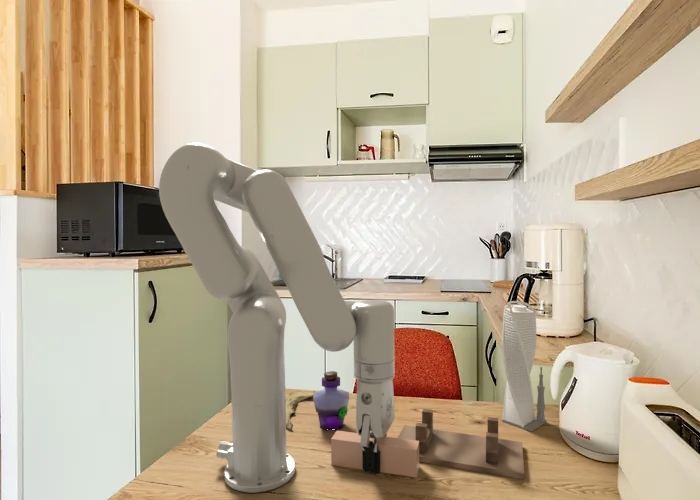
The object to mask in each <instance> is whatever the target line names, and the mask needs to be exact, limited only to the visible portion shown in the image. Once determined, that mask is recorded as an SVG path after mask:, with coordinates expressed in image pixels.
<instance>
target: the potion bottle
mask: <svg viewBox="0 0 700 500" xmlns="http://www.w3.org/2000/svg"><path fill="white" fill-rule="evenodd" d="M323 375H324V376H323V377H322V378H321V386H322V387H323V389H321V390H318V391H315V393H314V395H313V397H312V400H313V405H314V407H315V413H317V417H318V421H319V428H320V429H322V430H324V431H326V432H328V430H332V429H335V430H332V431H335V432H336V431H340V429H342V428H344V422H345V421H344V420H345V418H346V416H347V415H348V406H349V401H350V393H349V392H350V391H347V390H344V389H340V388H338V387H340V386H341V377H340V376H338V372H337V371H335V370H334V371H327V372H324V373H323ZM327 429H328V430H327ZM332 431H331V432H332Z"/></svg>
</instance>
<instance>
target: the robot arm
mask: <svg viewBox="0 0 700 500" xmlns="http://www.w3.org/2000/svg"><path fill="white" fill-rule="evenodd" d="M158 191H159V192H158V193H159V200H160V204H161V208H162V211H163V213H164V216H165V218H166V219H167V221H168V223H169V225H170V228H171V229H172V231H173V232H174V234H175V236H176V238H177V240H178V241H179V243H180V245H181V246H182V249H183V251H184V252H185V254H186V256H187V258H188V259H189V261H190V264H191V265H192V267H193V268H194V270H195V272H196V273H197V275H198V277H199V279H200V282H201V283H202V285H203V287H204V289H205V290H206V291H207V293H209V295H211V296H212V297H214V298H215V299H218V300H222V301H225V302H226V304H228V306H229V308H230V310H231V312H232V315H231V317H230V320H229V323H228V327H227V333H226V334H227V335H226V337H227V348H228V358H229V367H230V392H231V393H230V394H231V425H232V427H231V429H232V430H231V431H232V433H231V435H232V442H231V441H225V440H221V441H220V442H219V444H218V450H217V451H216V455H215V456H216V458H218V459H221V460H222V459H225V460H226V461H227V465H226V467H225V468H224V474H223V476H224V481H225V483H226V485H228V487H230V489H233V490H236V491H239V492H243V493H251V494H252V493H261V492H267V491H271V490H274V489H276V488H279V487H281V486H283V485H284V484H286V483H288V481H290V480H291V479H292V478H293V476H294V474H295V472H296V462H295V459H294V458H293V456H291V455H290V454H289V453H287V452H288V451H287V429H286V401H287V399H286V396H287V395H286V372H285V371H286V370H285V369H286V368H285V367H286V365H285V364H286V363H285V361H286V360H285V329H286V322H287V321H286V320H287V311H286V307H285V305H284V302H283V301H282V299H281V298H280V295H279V294H278V292H277V290H276V288H275V286H274V285H273V283H272V281H271V280H270V277H269V276H268V274H267V272H266V271H265V269H264V267H263V265H262V264H261V261H259V259H258V257H257V256H256V255H255V254H254V252H252V251H251V250H250V249H248V248H247V247H245V246H242V245H240V244H239V243H238V241H237V239H236V237H235V235H234V234H233V232H232V231H231V228H230V227H229V225H228V222H227V221H226V219H225V217H224V216H223V215H222V212H221V211H220V210H219V208H218V206H217V204H216V202H215V201H217V202H219V203H222V204H224V205H227V206H230V207H233V208H235V209H238V210H241V211H244V212H246V213H248V215H249V216H250V218H251V220H252V222H253V224H254V226H255V227H256V229H257V231H258V233H259V235H260V237H261V239H262V241H263V242H264V244H265V246H266V249H267V251H268V253H269V254H270V257H271V258H272V260H273V262H274V264H275V266H276V269H277V271H278V274H279V276H280V277H281V279H282V281H283V282H284V284H285V286H286V287H287V289H288V292H289V294H290V296H291V298H292V300H293V302H294V304H295V306H296V308H297V310H298V313H299V314H300V316H301V319H302V320H303V322H304V324H305V327H306V328H307V329H308V332H309V333H310V335H311V337H312V339H313V341H314V342H315V343H316V344H317V346H318V347H320V348H321V349H323V350H324V351H325V350H326V351H328V352H332V353H333V352H335V353H336V352H341V351H343V350H345V349H347V348H348V347H350V345H351V344H352V343H353V378H354V379H355V380H357V387H356V402H355V405H356V406H355V410H356V411H355V427H356V433H358V435H361V440H360V446H362V452H363V469H362V470H363V471H364V472H367V473H374V474H380V473H381V472H380V451H378V445H379V439H382V438H383V437H388V436H387V435H388V434H387V433H388V431H389V430H390V428H391V426H392V425H393V423H394V421H395V412H396V411H395V397H394V395H395V394H394V393H395V392H394V381H393V380H394V379H395V368H396V367H395V365H396V364H395V361H396V360H395V309H394V306H393V304H391V302H388V301H386V300H381V299H380V300H379V299H377V300H376V299H372V300H371V299H370V300H368V299H367V300H362V301H352V300H344V297H343V295H342V294H341V292H340V289H339V288H338V285H337V284H336V283H337V282H335V279H334V278H333V276H332V274H331V271H330V269H329V267H328V264H327V262H326V260H325V256H324V253H323V251H322V248H321V246H320V243H319V242H318V239H317V237H316V235H315V234H314V231H313V230H312V228H311V226H310V224H309V222H308V221H307V218H306V216H305V215H304V213H303V211H302V210H303V209H301V207H300V205H299V202H298V201H297V199H296V197H295V195H294V193H293V191H292V189H291V187H290V185H289V183H288V182H287V179H285V177H283V175H281V174H280V173H279V172H277V171H274V170H272V169H261V170H258V169H255V168H253V167H249V166H247V165H244V164H242V163H239V162H237V161H235V160H233V159H230V158H227V157H226V156H224V155H223V154H222V153H221V152H219V151H218V150H217V149H216V148H214V147H212V146H210V145H208V144H204V143H201V142H192V143H187V144H184V145H183V146H179V148H177V149H175V151H174V152H173V153H171V155H170V156H169V158H167V160H166V162H165V164H164V166H163V168H162V170H161V173H160V177H159V183H158ZM370 438H374V443H373V441H370Z"/></svg>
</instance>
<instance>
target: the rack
mask: <svg viewBox="0 0 700 500" xmlns="http://www.w3.org/2000/svg"><path fill="white" fill-rule="evenodd" d="M486 431H487V432H485V433H486V434H485V436H483V435H476V434H469V433H468V434H467V433H462V432H461V433H460V432H453V431H448V430H439V429H434V410H433V409H428V408H422V411H421V422H416V424H415V426H414V425H413V426H412V425H406V424H405V425H403V428H402V429H401V431H400V433H399V435H398V437H397V438H400V439H408V440H416V441H419V463H425V464H431V465H437V466H442V467H443V466H444V467H448V468H456V469H462V470H467V471H471V472H478V473H482V474H483V473H484V474H490V475H497V476H502V477H507V478H513V479H519V480H525V463H524V451H523V441H516V440H511V439H502V438H499V417H492V416H487V430H486Z"/></svg>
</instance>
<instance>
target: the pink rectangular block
mask: <svg viewBox="0 0 700 500" xmlns="http://www.w3.org/2000/svg"><path fill="white" fill-rule="evenodd" d="M360 440H361V435H358V433H357V432H350V431H344V430H336V431H335V432H334V434H333V435H332V437H331V438H330V452H331V453H330V454H331V455H330V456H331V457H330V459H331V460H330V462H331V466H336V467H345V468H351V469H357V470H363V452H362V446H360ZM370 441H373V443H374V438H370ZM378 451H380V472H379V473H384V474H385V473H386V474H389V475H390V474H393V475H398V476H404V477H410V478H417V477H418V474H419V471H420V470H419V469H420V462H419V441H416V440H408V439H400V438H398V437H391V436H386V437H383V438H382V439H379V445H378Z"/></svg>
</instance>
